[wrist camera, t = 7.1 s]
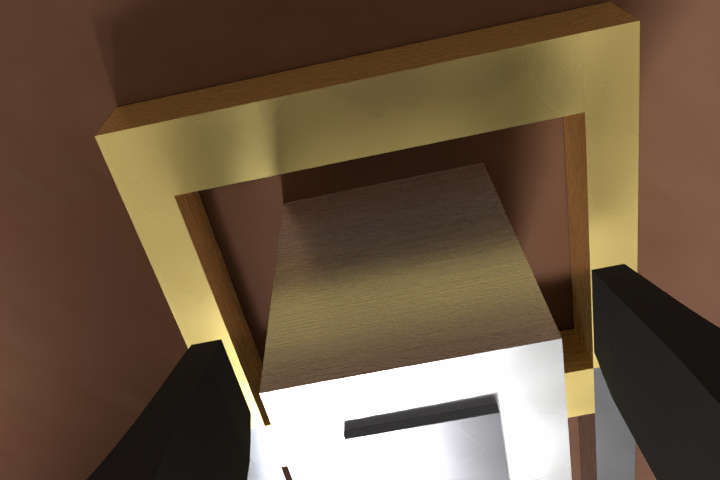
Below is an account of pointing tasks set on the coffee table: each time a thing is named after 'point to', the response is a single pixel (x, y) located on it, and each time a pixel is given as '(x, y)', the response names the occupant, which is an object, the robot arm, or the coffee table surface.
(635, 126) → the yellow grey ladder frame
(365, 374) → the block
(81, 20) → the coffee table surface
